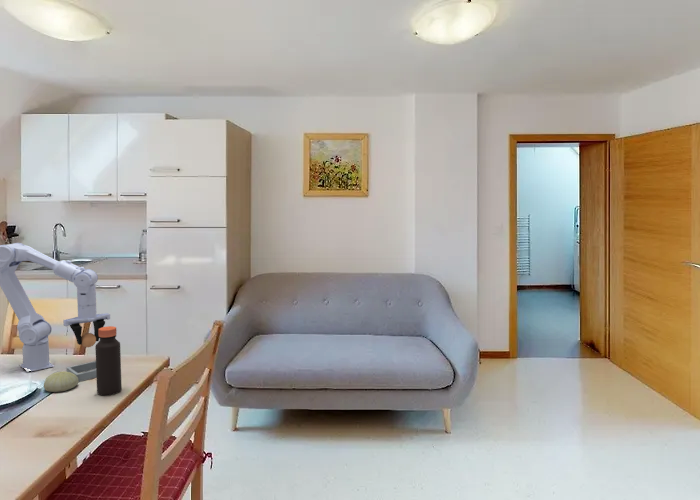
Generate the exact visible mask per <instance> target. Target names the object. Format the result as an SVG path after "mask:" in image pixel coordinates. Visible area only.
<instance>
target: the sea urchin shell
mask: <svg viewBox="0 0 700 500" xmlns="http://www.w3.org/2000/svg"><path fill="white" fill-rule="evenodd" d="M44 379H45V378H44ZM78 384H79V382H78V377H77V376H76V375H75V374H73V373H71V372H67V370H65V371H57V372H54V373H51V374H49V375H48V376H47V377H46V379H45V380H44V382H43V388H44V390H45V391H47V392H49V393H50V392H51V393H59V392H60V393H61V392H65V391H69V390H71V389H73V388H75V387H76V386H77V385H78Z"/></svg>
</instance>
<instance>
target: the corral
mask: <svg viewBox="0 0 700 500" xmlns="http://www.w3.org/2000/svg"><path fill="white" fill-rule="evenodd" d="M65 369H66V370H65V371H66V372H71V373H73V374H75V375H76V376H77V377H78V383H80V382H84V381H87V380H92V379H95V378H96V360H93V361H89V362H85V363H81V364H76V365H71V366H67V367H66V368H65ZM96 379H97V378H96Z"/></svg>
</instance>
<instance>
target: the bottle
mask: <svg viewBox="0 0 700 500" xmlns="http://www.w3.org/2000/svg"><path fill="white" fill-rule="evenodd" d="M98 335H99V341H97V342H96V343H95V349H94V350H95V361H96V369H95V370H96V393H97V394H98V395H99V396H104V397H105V396H111V395H115V394H118V393H120V392H121V391H122V388H123V387H122V365H121V364H122V359H121V358H122V357H121V355H122V354H121V342H120V341H119V340H117V339H116V337H117V327H116V326H112V325H111V326H109V325H108V326H104V327H102V328H99V329H98Z"/></svg>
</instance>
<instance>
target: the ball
mask: <svg viewBox="0 0 700 500" xmlns="http://www.w3.org/2000/svg"><path fill="white" fill-rule="evenodd" d="M81 338H82V344H81V346H82V347H84V348H92V347H93V346H94V345H96V344H97V341H96V337H95V335H94V333H91V332H86V333H84V334H82V335H81Z"/></svg>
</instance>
